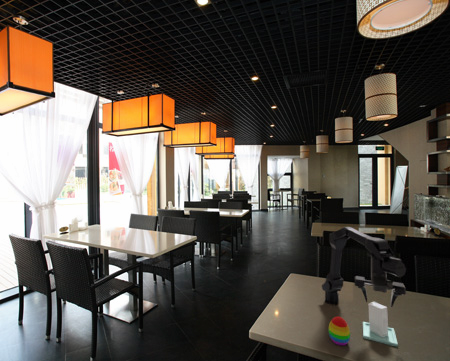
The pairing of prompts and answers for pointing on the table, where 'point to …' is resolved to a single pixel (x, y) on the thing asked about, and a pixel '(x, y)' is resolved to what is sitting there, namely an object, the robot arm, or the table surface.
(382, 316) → the skincare box
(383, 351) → the table surface
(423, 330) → the table surface
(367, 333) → the tray
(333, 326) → the decorative egg
